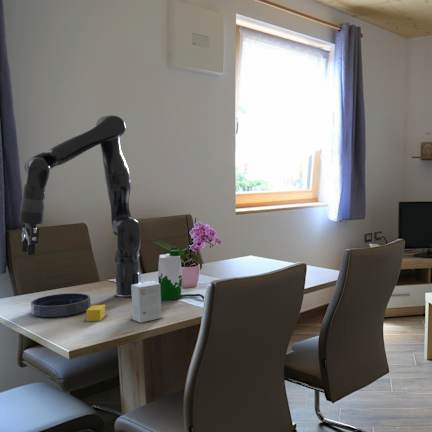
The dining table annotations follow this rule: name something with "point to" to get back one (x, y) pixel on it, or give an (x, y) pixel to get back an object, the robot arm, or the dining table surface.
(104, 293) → the dining table surface
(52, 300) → the bowl
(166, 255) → the milk carton
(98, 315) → the yellow block
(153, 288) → the small box
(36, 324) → the dining table surface
